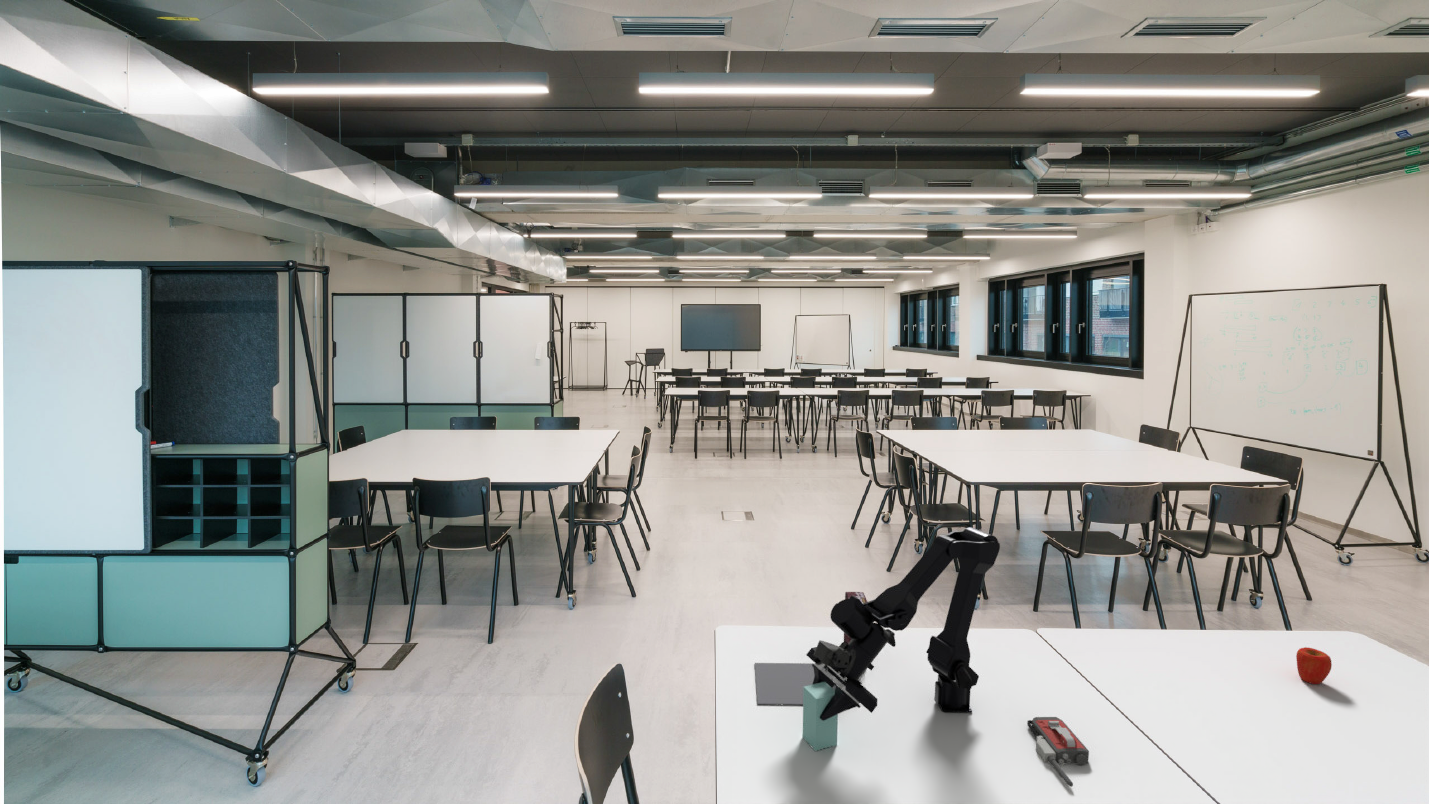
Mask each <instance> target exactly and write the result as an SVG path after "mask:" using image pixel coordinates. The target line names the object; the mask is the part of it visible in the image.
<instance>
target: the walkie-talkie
mask: <svg viewBox="0 0 1429 804" xmlns="http://www.w3.org/2000/svg"><path fill="white" fill-rule="evenodd" d="M1026 723H1027V726H1028V728H1029V729H1030V731H1031V733H1032V732H1033V733H1032V734H1033V735H1034V737H1035V741H1036V742H1035V743H1036V744H1035V750H1036V752H1037V753H1038V755H1039V756H1040V758H1041V759H1042V761H1043V762H1044V763H1049V765H1051V766H1052V767H1053V769H1054V770H1055V771H1056V772H1057V774H1058V775H1059V776H1060V778H1062V779H1063V781H1064V782H1065V784H1067V785H1068V786H1069V787H1073V786H1074V783H1073V782H1072V780H1071V779H1070V778H1069V776H1068V775H1067V773H1066V772H1065V771H1064V770H1063V769H1062V767H1061V766H1063V765H1065V764H1077V765H1080V766H1083V765H1085V764H1088V763H1089V756H1090V750H1089V749H1088V748H1087V747H1086V746H1085V745H1084V743H1083V742H1082V741H1081V740H1080V739H1079V737H1077V735H1076V734H1075V733H1074V732H1073V731H1072V729H1070V727H1068V725H1067V724H1066V723H1065V722H1064V721H1063V720H1062V719H1061V718H1059V717H1057V716H1035V717H1033V718H1032V720H1030V719H1029V720H1027V722H1026ZM1060 765H1061V766H1060Z"/></svg>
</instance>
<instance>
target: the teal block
mask: <svg viewBox="0 0 1429 804" xmlns="http://www.w3.org/2000/svg"><path fill="white" fill-rule="evenodd" d="M834 694H835V690H834V689H833V688H831V687H830V686H829V685H828V684H827V683H826V682H821V683H817V684H813V685H808V686H804V691H803V705H802V708H803V709H802V738H803V739H804V740H805V742H806V741H807V742H808V743H809V744H808V743H807V742H806V743H807V744H808V745H809V746H810V747H811V746H812V747H813V748H812V747H811V748H812V750H813V751H814V752H817V750H818V751H821V750H820V749H822V750H824V749H823V748H825V749H828V748H827V747H829V748H832V747H831V746H833V747H837V746H838V723H839V722H838V721H839V719H838V717H839V715H838V714H837V715H835V716H833V717H831V718H829V719H826V720H824V721H823V720H821V719H820V715H821V714H822V712H823V710H824V709H825V707H826V706H827V705H828V703H829V702H830V700H831V699H832V697H833V696H834Z"/></svg>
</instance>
